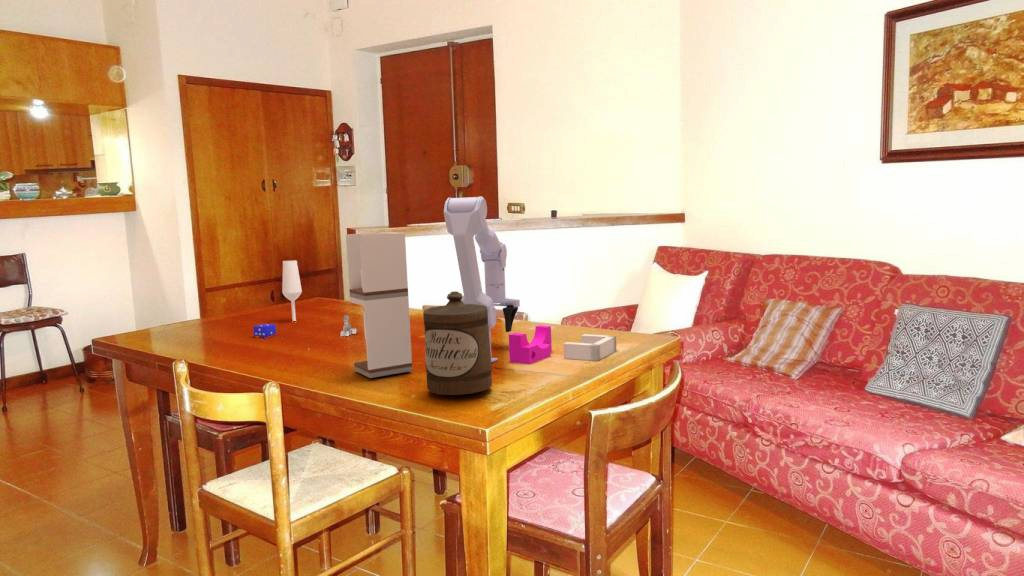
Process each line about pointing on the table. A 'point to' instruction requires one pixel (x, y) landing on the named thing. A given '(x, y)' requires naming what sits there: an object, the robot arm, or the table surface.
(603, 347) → the block holder
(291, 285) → the champagne flute
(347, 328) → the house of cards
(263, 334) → the die
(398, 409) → the table surface
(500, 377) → the table surface
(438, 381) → the wooden container
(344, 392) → the table surface
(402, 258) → the grey stacked tower
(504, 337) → the table surface
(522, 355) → the toy block
